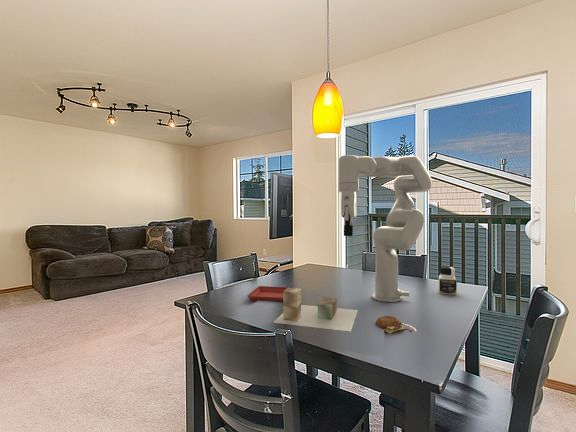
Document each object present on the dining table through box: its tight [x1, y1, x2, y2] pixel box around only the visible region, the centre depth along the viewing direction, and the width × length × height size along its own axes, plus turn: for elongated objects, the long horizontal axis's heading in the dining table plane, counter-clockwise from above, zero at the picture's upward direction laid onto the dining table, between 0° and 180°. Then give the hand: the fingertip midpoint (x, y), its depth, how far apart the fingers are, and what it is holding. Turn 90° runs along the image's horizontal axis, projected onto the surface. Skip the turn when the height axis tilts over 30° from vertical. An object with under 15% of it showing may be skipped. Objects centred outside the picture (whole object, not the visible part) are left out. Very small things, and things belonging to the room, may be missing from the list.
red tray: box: [247, 285, 292, 303], centre depth 145 cm, size 18×18×3 cm
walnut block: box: [317, 296, 338, 320], centre depth 118 cm, size 5×5×10 cm
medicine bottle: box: [438, 265, 458, 296], centre depth 153 cm, size 7×7×12 cm
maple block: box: [282, 287, 302, 321], centre depth 115 cm, size 5×5×10 cm
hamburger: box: [375, 315, 417, 335], centre depth 108 cm, size 14×14×6 cm
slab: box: [272, 304, 359, 332], centre depth 117 cm, size 26×22×1 cm
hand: (348, 235), depth 126 cm, fingers closed
